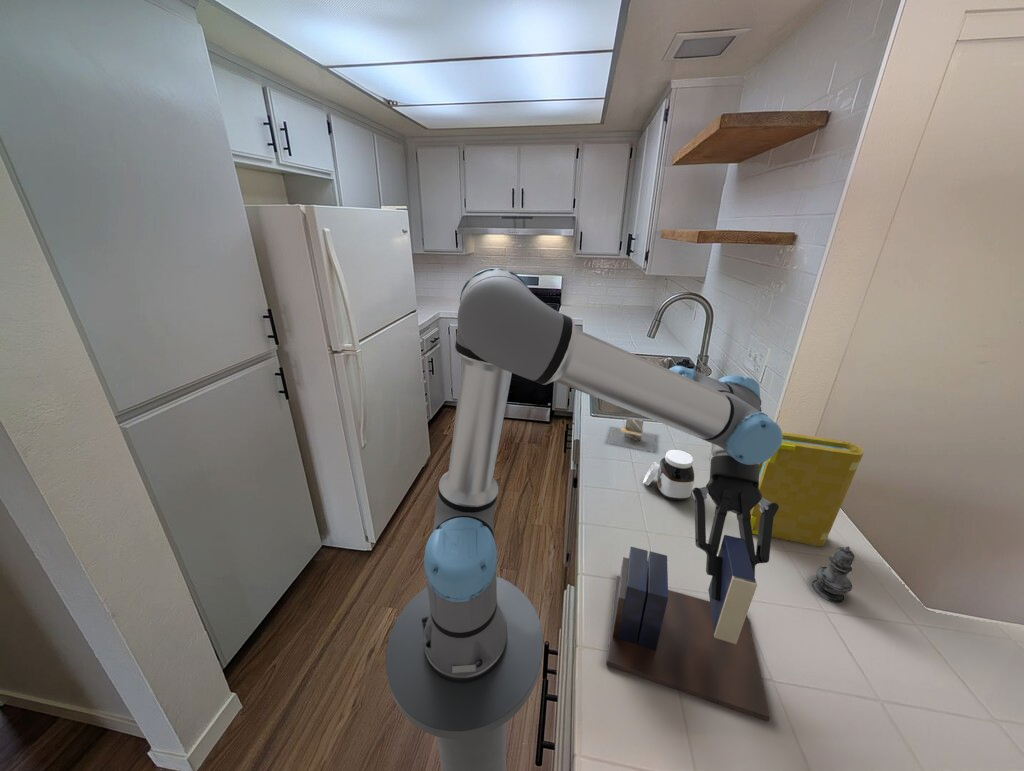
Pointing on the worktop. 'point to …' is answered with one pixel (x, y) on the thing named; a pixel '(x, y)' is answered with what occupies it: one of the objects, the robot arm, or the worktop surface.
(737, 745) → the worktop surface
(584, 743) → the worktop surface
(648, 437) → the architectural model
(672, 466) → the spread jar
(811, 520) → the book
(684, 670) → the book rack
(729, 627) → the navy book
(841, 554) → the chess piece
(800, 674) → the worktop surface
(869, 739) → the worktop surface
